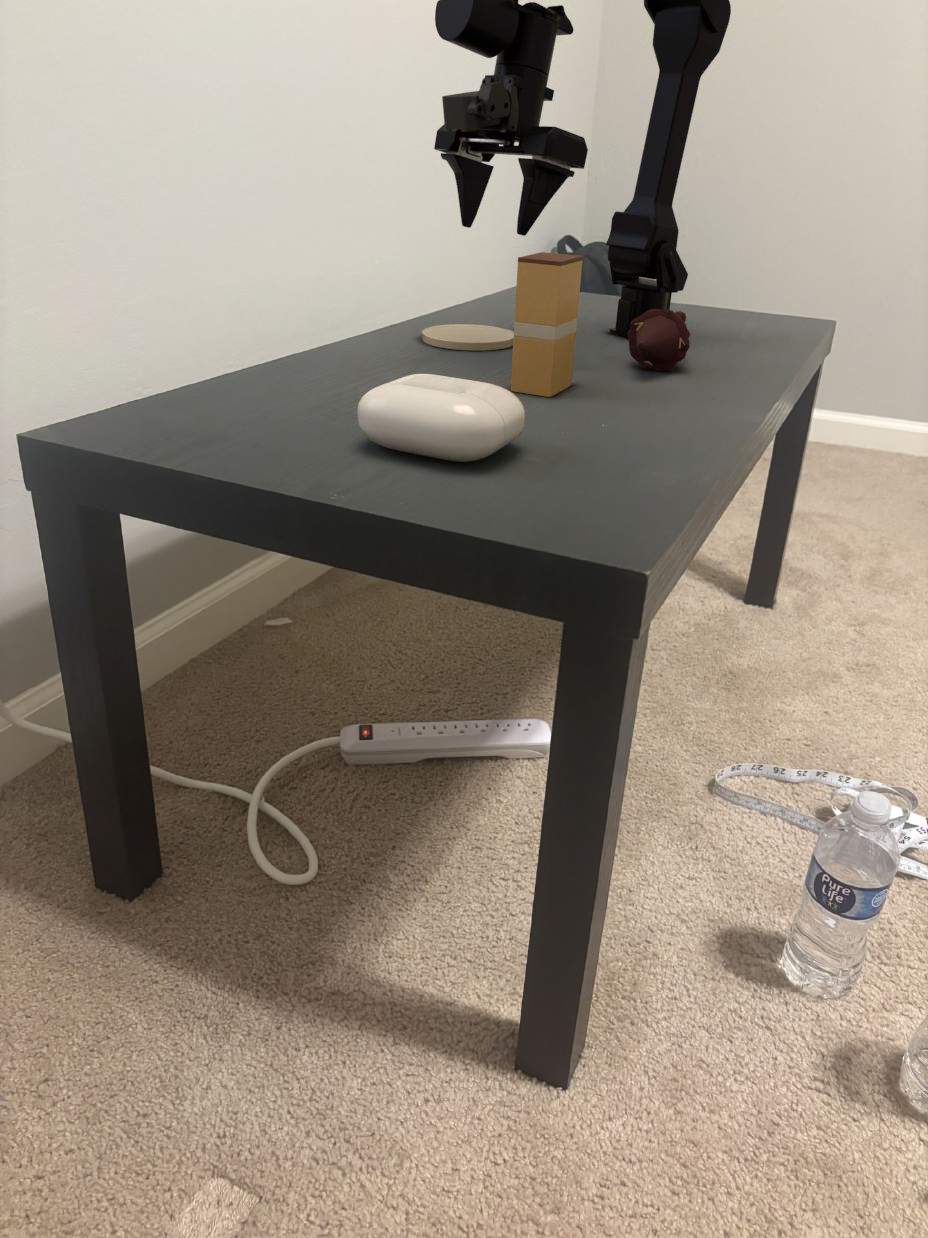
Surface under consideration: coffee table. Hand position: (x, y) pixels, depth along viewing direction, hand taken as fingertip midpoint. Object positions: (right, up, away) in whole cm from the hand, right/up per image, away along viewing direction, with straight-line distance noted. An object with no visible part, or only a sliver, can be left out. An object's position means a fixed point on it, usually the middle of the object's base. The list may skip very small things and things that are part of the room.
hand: (492, 230), depth 100 cm
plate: (-3, -7, +16) cm, 18 cm away
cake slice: (+5, -19, -5) cm, 20 cm away
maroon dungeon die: (+19, -14, +5) cm, 24 cm away
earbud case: (-5, -29, -24) cm, 38 cm away
